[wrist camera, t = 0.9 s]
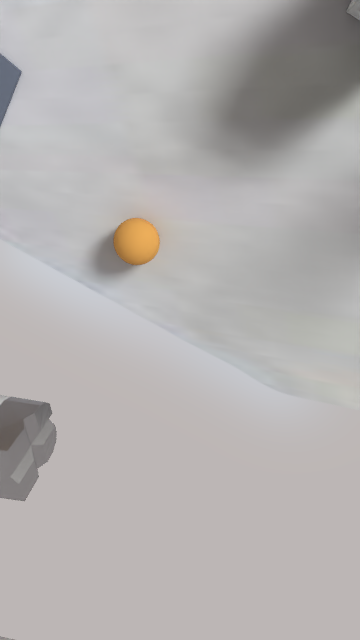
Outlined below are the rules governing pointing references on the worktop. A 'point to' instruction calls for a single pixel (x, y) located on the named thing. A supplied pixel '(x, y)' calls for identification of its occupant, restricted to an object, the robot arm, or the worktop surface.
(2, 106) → the slate square
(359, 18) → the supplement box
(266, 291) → the worktop surface
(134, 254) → the ball
